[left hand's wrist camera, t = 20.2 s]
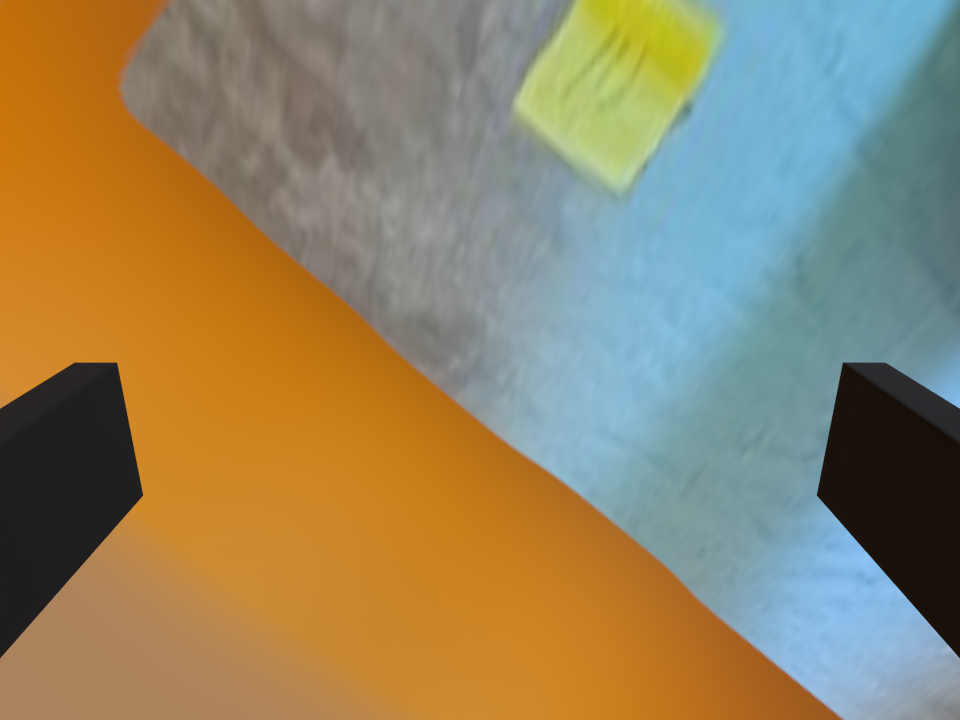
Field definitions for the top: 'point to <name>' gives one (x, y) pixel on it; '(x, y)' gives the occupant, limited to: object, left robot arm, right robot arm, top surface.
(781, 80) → the top surface
